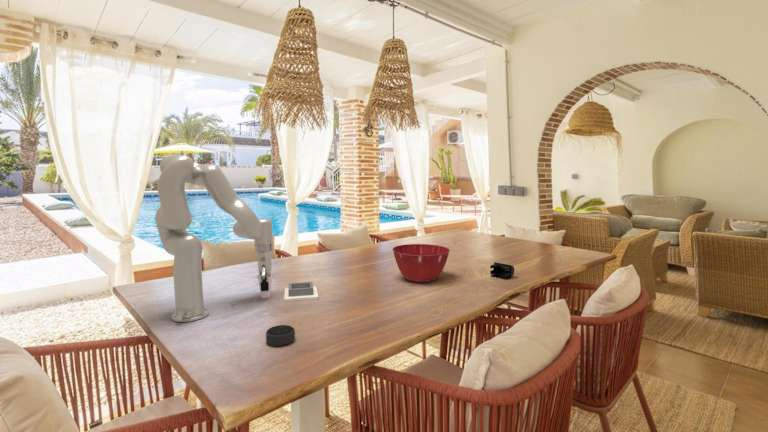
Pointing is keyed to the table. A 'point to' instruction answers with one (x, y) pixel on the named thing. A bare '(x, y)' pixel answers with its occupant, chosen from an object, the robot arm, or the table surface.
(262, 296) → the smoothie
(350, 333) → the table surface
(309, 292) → the socket board
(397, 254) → the mixing bowl
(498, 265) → the end cap
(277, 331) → the smart speaker
